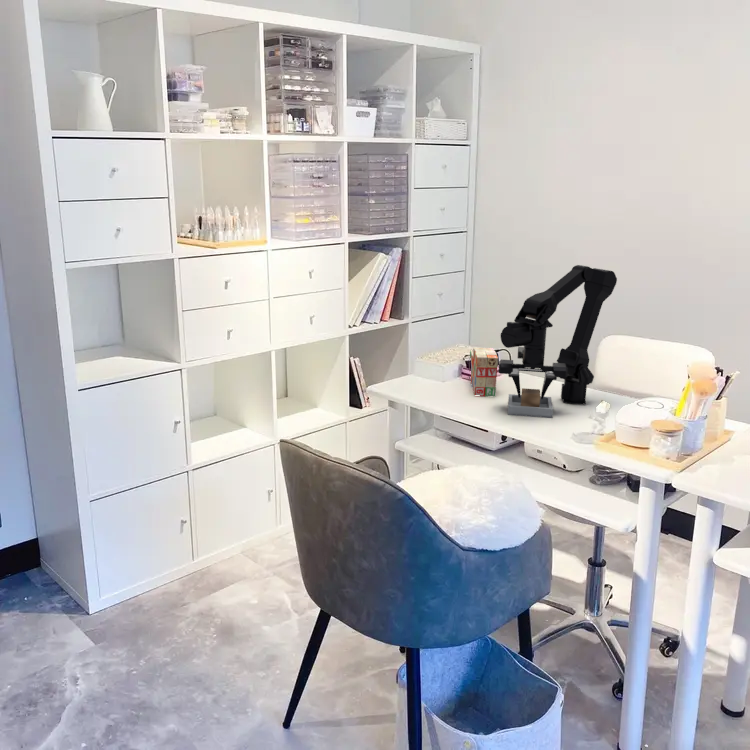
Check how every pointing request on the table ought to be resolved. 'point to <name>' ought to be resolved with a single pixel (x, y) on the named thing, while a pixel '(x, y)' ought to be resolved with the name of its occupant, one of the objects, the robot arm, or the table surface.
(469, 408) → the table surface
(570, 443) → the table surface
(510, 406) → the grey tray
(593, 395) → the table surface
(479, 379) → the stack of blocks
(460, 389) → the table surface
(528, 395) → the walnut cube
